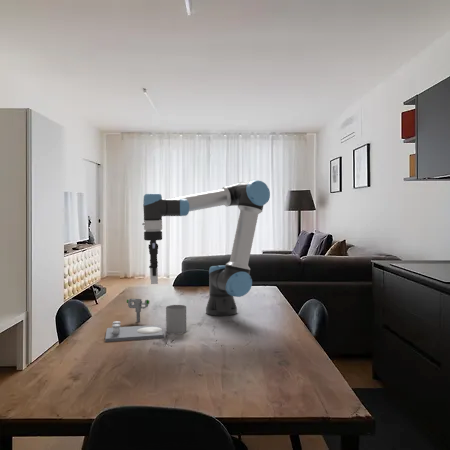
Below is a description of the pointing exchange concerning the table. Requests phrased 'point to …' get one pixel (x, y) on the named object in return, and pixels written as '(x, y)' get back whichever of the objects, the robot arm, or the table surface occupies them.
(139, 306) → the mechanical component
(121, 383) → the table surface
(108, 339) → the board
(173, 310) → the cup
